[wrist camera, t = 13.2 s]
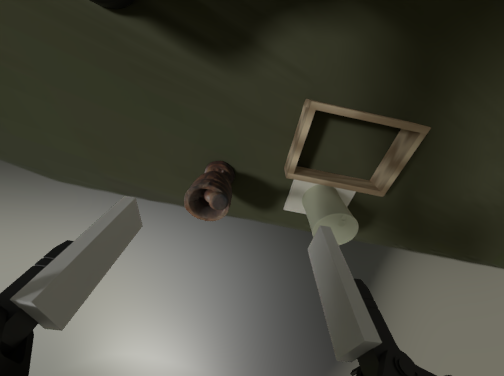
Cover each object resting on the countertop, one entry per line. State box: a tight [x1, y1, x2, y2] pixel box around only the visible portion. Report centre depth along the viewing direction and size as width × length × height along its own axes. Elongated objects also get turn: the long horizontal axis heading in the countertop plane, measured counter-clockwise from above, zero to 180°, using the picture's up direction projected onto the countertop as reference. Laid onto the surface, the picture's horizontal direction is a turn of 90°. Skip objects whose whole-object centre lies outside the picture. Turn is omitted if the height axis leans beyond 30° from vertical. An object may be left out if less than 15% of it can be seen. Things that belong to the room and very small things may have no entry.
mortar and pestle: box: [184, 161, 235, 221], centre depth 36 cm, size 12×9×20 cm
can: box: [302, 184, 359, 245], centre depth 41 cm, size 9×9×12 cm
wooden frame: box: [284, 99, 431, 197], centre depth 38 cm, size 15×22×5 cm
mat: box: [283, 179, 356, 214], centre depth 47 cm, size 11×16×1 cm
